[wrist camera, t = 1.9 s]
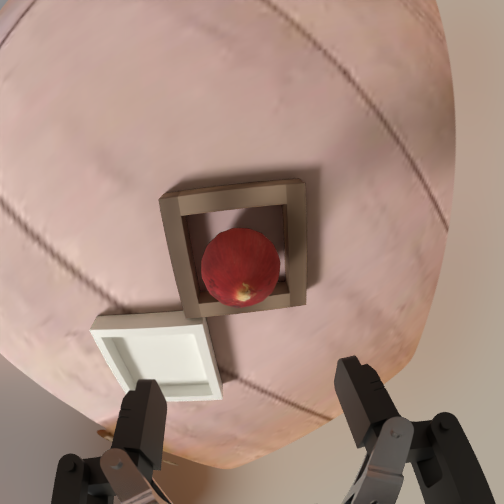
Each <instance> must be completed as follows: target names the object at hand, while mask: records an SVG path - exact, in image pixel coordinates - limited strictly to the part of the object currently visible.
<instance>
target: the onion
mask: <svg viewBox="0 0 504 504" xmlns="http://www.w3.org/2000/svg"><path fill="white" fill-rule="evenodd" d="M279 272H280V258H279V256H278V253H277V251H276V249H275V246H274V245H273V243H272V242H271V241H270V240H269V239H268V238H266V237H265V236H264V235H263V234H262V233H260V232H257V231H254V230H252V229H249V228H232V229H229V230H227V231H224V232H221V233H219V234H218V235H217V236H216V237H215V238H214V239H213V240H212V241H211V242H210V243H209V244H208V245H207V247H206V249H205V252H204V255H203V257H202V268H201V273H202V279H203V281H204V283H205V285H206V288H207V290H208V291H209V293H210V294H211V295H212V296H213V297H214V298H216V299H217V300H218V301H219V302H221V303H222V304H224V305H227V306H231V307H234V308H243V307H248V306H252V305H255V304H257V303H260V302H262V301H264V300H265V299H266V298H267V297H268V296H269V295H270V294H271V293H272V292H273V290H274V288H275V286H276V284H277V281H278V278H279Z"/></svg>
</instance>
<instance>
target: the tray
mask: <svg viewBox="0 0 504 504" xmlns="http://www.w3.org/2000/svg"><path fill="white" fill-rule="evenodd" d="M90 332H91V334H92V336H93V338H94V340H95V342H96V344H97V345H98V347H99V349H100V351H101V353H102V355H103V357H104V358H105V360H106V362H107V364H108V366H109V367H110V369H111V371H112V372H113V374H114V376H115V377H116V379H117V381H118V382H119V384H120V386H121V387H122V389H123V390H124V392H125V393H126V394H127V393H128V391H129V390H135V388H136V384H137V381H138V380H139V379H155V380H156V381H157V383H158V385H159V387H160V389H161V391H162V393H163V395H164V397H165V399H166V401H204V400H221V399H223V385H222V381H221V377H220V373H219V369H218V365H217V362H216V358H215V354H214V350H213V346H212V341H211V337H210V333H209V329H208V325H207V320H206V317H199V318H188V319H186V318H185V315H184V311H172V312H158V313H144V314H127V315H107V316H97V317H96V319H95V321H94V323H93V324H92V326H91V328H90Z"/></svg>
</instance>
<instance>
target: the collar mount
mask: <svg viewBox="0 0 504 504" xmlns="http://www.w3.org/2000/svg"><path fill="white" fill-rule="evenodd" d="M281 204H282V207H283V228H284V251H285V280H286V282H279V283H277V284H276V286H275V288H274V290H273V292H272V293H271V294H270V295H269V296H268V297H267V298H266V299H265V300H264V301H262V302H260V303H257V304H255V305H252V306H248V307H243V308H234V307H231V306H227V305H224V304H222V303H221V302H219V301H218V300H217V299H216V298H214V297H213V296H212V295H211V294H210V293H209V291H201V292H200V288H199V284H198V279H197V274H196V269H195V264H194V259H193V254H192V248H191V243H190V237H189V232H188V226H187V220H186V215H192V214H199V213H207V212H215V211H224V210H232V209H241V208H251V207H260V206H270V205H281ZM159 205H160V211H161V216H162V221H163V226H164V231H165V236H166V241H167V245H168V250H169V254H170V259H171V263H172V267H173V272H174V276H175V280H176V284H177V288H178V292H179V296H180V300H181V303H182V307H183V311H184V315H185V318H186V319H188V318H199V317H210V316H220V315H230V314H239V313H248V312H256V311H264V310H272V309H280V308H287V307H294V306H301V305H306V287H307V219H306V183H305V182H303V181H302V180H300V179H299V178H298V179H284V180H272V181H261V182H251V183H241V184H232V185H223V186H215V187H207V188H199V189H192V190H185V191H178V192H171V193H165V194H163V195H162V196H161V197H160V198H159Z"/></svg>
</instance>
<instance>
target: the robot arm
mask: <svg viewBox="0 0 504 504" xmlns="http://www.w3.org/2000/svg"><path fill="white" fill-rule="evenodd" d="M334 386H335V391H336V394H337V396H338V399H339V401H340V404H341V407H342V409H343V412H344V414H345V417H346V419H347V422H348V425H349V427H350V430H351V433H352V435H353V438H354V441H355V443H356V446H357V448H361V447H364V446H365V448H366V451H367V453H366V455H365V458H364V460H363V463H362V465H361V467H360V469H359V472H358V474H357V476H356V478H355V480H354V482H353V485H352V486H351V488H350V490H349V492H348V494H347V495H346V497H345V498H344V500H343V502H342V504H395V503H396V500H397V498H398V495H399V492H400V490H401V487H402V484H403V480H404V476H403V475H402V472H403V469H404V466H405V463H409V462H411V464H412V467H413V469H414V472H415V475H416V478H417V480H418V483H419V486H420V489H421V492H422V495H423V498H424V501H425V504H495V501H494V498H493V496H492V493H491V490H490V488H489V485H488V483H487V480H486V478H485V476H484V473H483V471H482V469H481V466H480V464H479V462H478V460H477V458H476V455H475V454H474V451H473V449H472V447H471V445H470V443H469V441H468V439H467V437H466V435H465V433H464V431H463V429H462V427H461V425H460V423H459V421H458V419H457V418H456V417H455V416H454V415H453V414H451V413H448V412H442V413H439V414H437V415H436V416H435V417H434V418H433V419H432V420H429V421H419V422H411V421H409V420H408V419H406V418H404V417H401V415H400V414H399V413H398V411H397V409H396V407H395V405H394V403H393V402H392V400H391V398H390V396H389V394H388V392H387V390H386V389H385V388H384V385H383V383H382V381H381V379H380V377H379V376H378V374H377V372H376V370H374V369H373V368H372V367H371V366H369V365H368V364H365V365H361V364H360V362H359V360H358V358H357V357H356V356H350V357H346V358H341V359H339V360H338V363H337V368H336V374H335V379H334ZM166 414H167V403H166V399H165V397H164V395H163V393H162V391H161V389H160V387H159V385H158V383H157V381H156V380H155V379H139V380H138V381H137V384H136V388H135V390H129V391H128V393H127V394H126V395H125V397H124V398H123V400H122V404H121V410H120V412H119V418H118V420H117V425H116V429H115V433H114V438H113V442H112V446H111V448H110V449H109V450H107V451H105V452H104V453H103V454H102V456H101V457H96V458H88V459H81V458H80V457H79V456H77V455H75V454H66V455H64V456H63V457H62V458H61V459H60V460H59V463H58V467H57V472H56V477H55V482H54V488H53V495H52V501H51V504H113V500H114V496H116V495H117V497H118V499H119V500H120V502H121V504H173V503H172V502H171V501H170V499H169V498H168V497H167V496H166V494H165V493H164V492H163V491H162V489H161V488H160V487H159V485H158V484H157V483H156V481H155V480H154V479H153V478H152V474H153V470H161V461H162V451H163V441H164V431H165V423H166Z"/></svg>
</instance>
